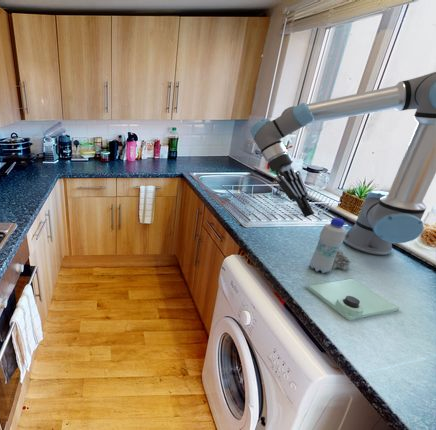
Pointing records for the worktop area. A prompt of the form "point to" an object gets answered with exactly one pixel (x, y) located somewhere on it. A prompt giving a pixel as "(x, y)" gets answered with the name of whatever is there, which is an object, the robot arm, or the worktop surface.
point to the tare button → (351, 301)
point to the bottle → (328, 245)
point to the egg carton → (341, 261)
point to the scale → (340, 289)
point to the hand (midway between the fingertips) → (309, 215)
